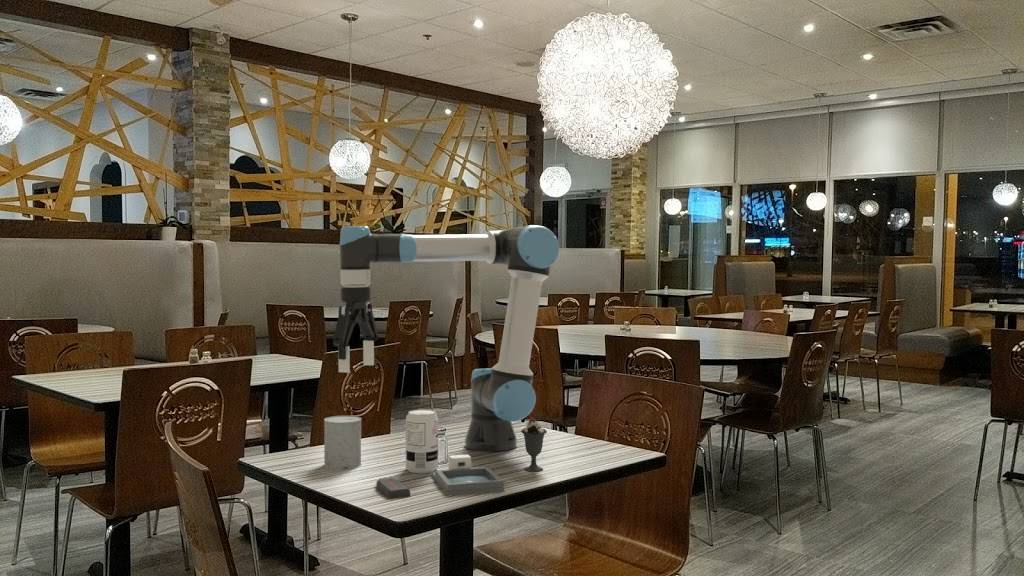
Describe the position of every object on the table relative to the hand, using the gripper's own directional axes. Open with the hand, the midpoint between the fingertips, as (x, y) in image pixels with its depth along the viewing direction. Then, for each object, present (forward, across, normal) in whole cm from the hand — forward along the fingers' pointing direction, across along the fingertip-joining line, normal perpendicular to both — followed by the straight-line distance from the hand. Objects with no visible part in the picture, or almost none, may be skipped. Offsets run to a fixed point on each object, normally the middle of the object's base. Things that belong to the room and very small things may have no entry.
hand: (356, 368), depth 210 cm
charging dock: (+26, +5, +32) cm, 41 cm away
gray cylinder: (+26, -1, -5) cm, 26 cm away
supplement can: (+26, -3, +16) cm, 31 cm away
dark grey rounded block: (+26, +18, +17) cm, 36 cm away
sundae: (+27, -13, +44) cm, 53 cm away
